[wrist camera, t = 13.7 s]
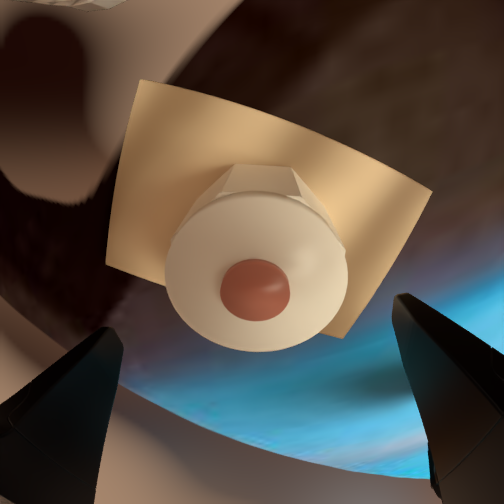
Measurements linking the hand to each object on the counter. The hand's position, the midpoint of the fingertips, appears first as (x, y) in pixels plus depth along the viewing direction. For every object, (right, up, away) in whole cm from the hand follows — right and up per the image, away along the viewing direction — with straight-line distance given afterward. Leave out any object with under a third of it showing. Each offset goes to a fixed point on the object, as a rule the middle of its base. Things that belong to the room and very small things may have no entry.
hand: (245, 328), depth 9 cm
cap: (+1, +4, +7) cm, 8 cm away
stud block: (+1, +4, +8) cm, 9 cm away
